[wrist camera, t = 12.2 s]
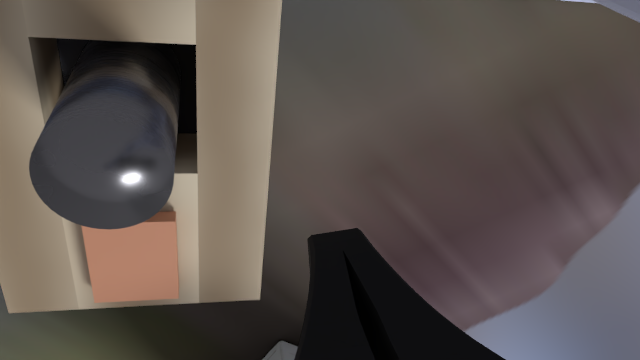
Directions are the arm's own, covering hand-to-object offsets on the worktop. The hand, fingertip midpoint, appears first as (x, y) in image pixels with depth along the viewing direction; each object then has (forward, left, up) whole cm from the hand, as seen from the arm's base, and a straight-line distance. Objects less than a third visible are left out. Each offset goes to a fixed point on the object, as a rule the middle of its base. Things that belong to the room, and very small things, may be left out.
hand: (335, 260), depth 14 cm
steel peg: (+6, -1, -9) cm, 11 cm away
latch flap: (+6, +5, -6) cm, 10 cm away
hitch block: (+6, +2, -9) cm, 11 cm away
